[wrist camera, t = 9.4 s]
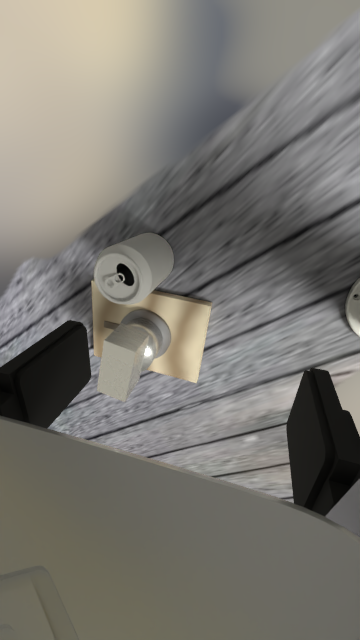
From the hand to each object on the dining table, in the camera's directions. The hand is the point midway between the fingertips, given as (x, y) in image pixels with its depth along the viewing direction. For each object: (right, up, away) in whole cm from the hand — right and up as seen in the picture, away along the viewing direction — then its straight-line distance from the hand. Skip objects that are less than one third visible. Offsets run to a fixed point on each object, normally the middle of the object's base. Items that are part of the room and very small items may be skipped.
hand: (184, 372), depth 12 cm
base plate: (-6, 0, +36) cm, 37 cm away
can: (-4, +12, +31) cm, 33 cm away
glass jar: (-6, -1, +34) cm, 35 cm away
